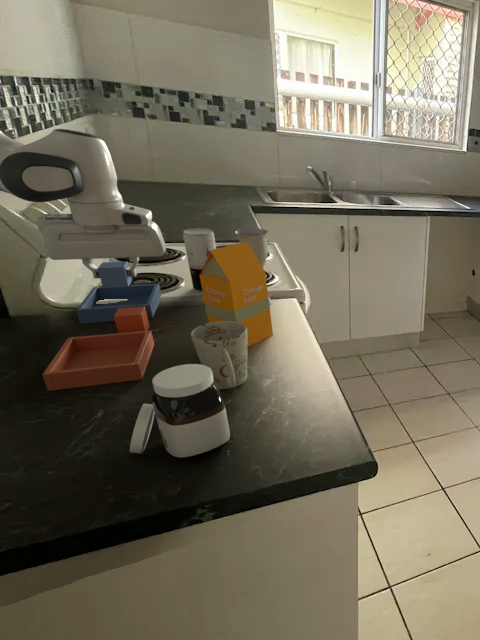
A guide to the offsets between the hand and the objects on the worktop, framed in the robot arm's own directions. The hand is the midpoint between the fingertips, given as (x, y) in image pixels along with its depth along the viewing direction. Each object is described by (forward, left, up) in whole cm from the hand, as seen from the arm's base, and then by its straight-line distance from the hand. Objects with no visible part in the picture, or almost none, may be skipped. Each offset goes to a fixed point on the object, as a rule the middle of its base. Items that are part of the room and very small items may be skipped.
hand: (116, 276), depth 105 cm
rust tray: (+2, -29, -8) cm, 30 cm away
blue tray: (0, 0, -8) cm, 8 cm away
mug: (+22, -43, -8) cm, 49 cm away
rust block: (+4, -14, -8) cm, 16 cm away
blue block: (0, 0, -2) cm, 2 cm away
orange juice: (+24, -23, -8) cm, 34 cm away
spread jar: (+16, -59, -8) cm, 62 cm away
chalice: (+28, -3, -8) cm, 29 cm away
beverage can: (+16, +11, -8) cm, 21 cm away
